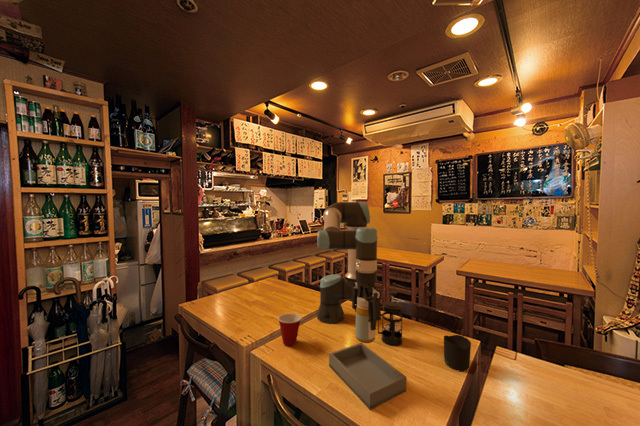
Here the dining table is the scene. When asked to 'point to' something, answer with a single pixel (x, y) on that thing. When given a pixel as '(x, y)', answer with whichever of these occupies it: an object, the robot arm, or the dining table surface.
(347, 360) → the crate
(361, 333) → the bottle
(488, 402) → the dining table surface
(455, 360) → the pen holder
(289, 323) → the plastic cup
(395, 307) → the french press
